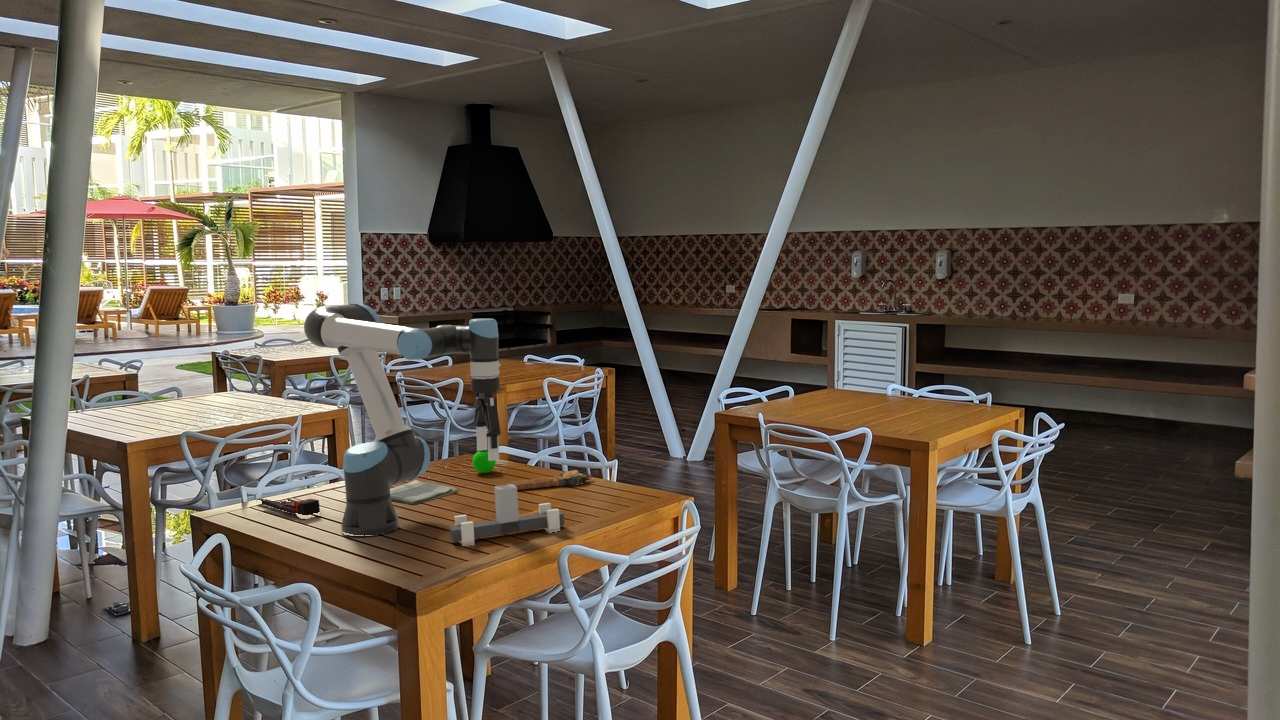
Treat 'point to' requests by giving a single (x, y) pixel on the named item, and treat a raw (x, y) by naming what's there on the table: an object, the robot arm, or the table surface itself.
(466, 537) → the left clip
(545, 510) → the right clip
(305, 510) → the toy
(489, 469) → the ornament
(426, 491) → the dish towel
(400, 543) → the table surface
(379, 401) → the robot arm
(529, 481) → the decorative handgun
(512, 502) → the bar
